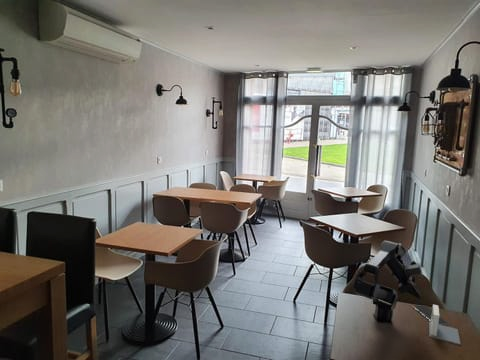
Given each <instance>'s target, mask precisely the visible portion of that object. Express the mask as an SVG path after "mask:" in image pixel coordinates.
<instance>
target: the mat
mask: <svg viewBox="0 0 480 360" xmlns="http://www.w3.org/2000/svg"><path fill="white" fill-rule="evenodd" d="M428 331H429V332H428V335H429V338H431V339H432V338H433V339H437V340H439V341H444V342H447V343H451V344H454V345H457V346H458V345H459V346H461V340H460V335H459V330H458V328H455V327H451V326H448V325H440V324H438V331H437V335H436V336H434V335H431V327H430V321H428Z"/></svg>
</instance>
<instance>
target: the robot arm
mask: <svg viewBox="0 0 480 360" xmlns="http://www.w3.org/2000/svg"><path fill="white" fill-rule="evenodd" d="M379 247H380V250H379V251H378V252H377V254H376V255H374V257H373V258H372V259H371V260H370V261H368V262H366V263H365V264H364V266H363V269H362V271H360V272H359V273H358V274H357V276H356V277H355V281H354V284H353V291H354V294H356V295H359V296H362V297H364V298H367V299H370V300H372V304H373V305H374V306H375V309H374V313H372V315H373V317H374V318H375V319H376V321H377V322H378V323H386V324H387V323H389V324H390V323H391V324H392V323H393V314H394V310H395V309H396V307H397V302H398V298H399V295H397V294H398V293H400V294H401V295H402V294H405V293H407V294H409V295H411V296H412V297H414V298H417V299H421V298H422V297H421V296H422V294H421V292H420V290H419V288H418V286H417V284H416V276H417V275H418V276H419V275H422V273H423V270H422V267H421V265H420V263H418V262H417V261H415V260H411V261H410V264H408V265H405V264H404V263H401V261H402V259H404V257H405V256H406V254H407V250H406V248H405V247H404V246H403V244H402V243H398V242H393V241H390V240H383V242H381V244H380V245H379ZM384 266H385V267H386V268H387V269H388V270H389V272H390V275H391V276H392V277H393V276H394V278H395V279H396V281H397V283H398V287H397V288H398V293H397V290H396V289H393V288H391V287H388V286H385V285H382V284H380V280H379V275H380V271H381V270H382V268H384ZM367 274H369V275H372V276H374V281H375V284H373V283H371V282H367V281H364V280H362V278H364V276H366V275H367ZM415 275H416V276H415ZM412 276H413V277H412Z"/></svg>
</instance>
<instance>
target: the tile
mask: <svg viewBox="0 0 480 360" xmlns="http://www.w3.org/2000/svg"><path fill="white" fill-rule="evenodd" d="M431 310H432V315H431V322H430V321H429V322H430V327H431V335H434V336H436V335H437V331H438V324H439V318H440V317H441V316H440V307H439V305H437V304H432V309H431Z"/></svg>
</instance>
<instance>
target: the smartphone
mask: <svg viewBox="0 0 480 360" xmlns="http://www.w3.org/2000/svg"><path fill="white" fill-rule="evenodd" d="M412 307H413V309H415V311H416V312H418V313H419V314H420V315H422V317H423V318H425V319H426V320H427V321H428V322H431V315H432V309H431V308H430V307H429V306H427V305H423V304H422V305H421V304H420V305H418V304H417V305H412ZM439 324H440V325H443V326H448V325H449V323H448V322H447V321H446V319H443V318H442V317H441V316H440V318H439Z"/></svg>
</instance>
